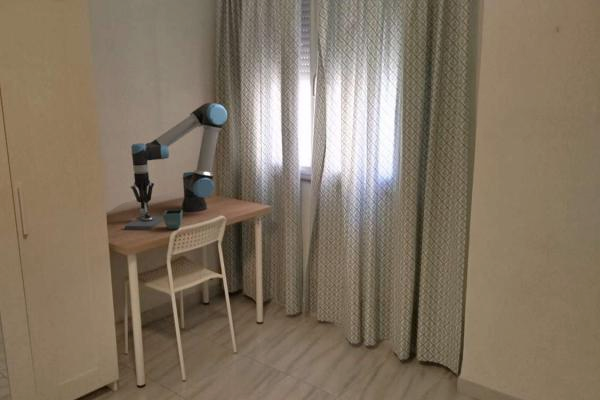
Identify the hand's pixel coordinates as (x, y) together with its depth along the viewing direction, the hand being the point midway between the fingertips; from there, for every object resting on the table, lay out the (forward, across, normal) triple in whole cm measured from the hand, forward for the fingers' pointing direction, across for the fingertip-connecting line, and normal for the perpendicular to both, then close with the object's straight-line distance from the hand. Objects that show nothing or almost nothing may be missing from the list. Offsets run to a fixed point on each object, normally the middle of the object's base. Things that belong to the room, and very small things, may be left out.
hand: (145, 213), depth 280 cm
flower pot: (+5, -5, +23) cm, 24 cm away
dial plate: (+4, +4, +6) cm, 8 cm away
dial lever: (+2, +1, +3) cm, 4 cm away
